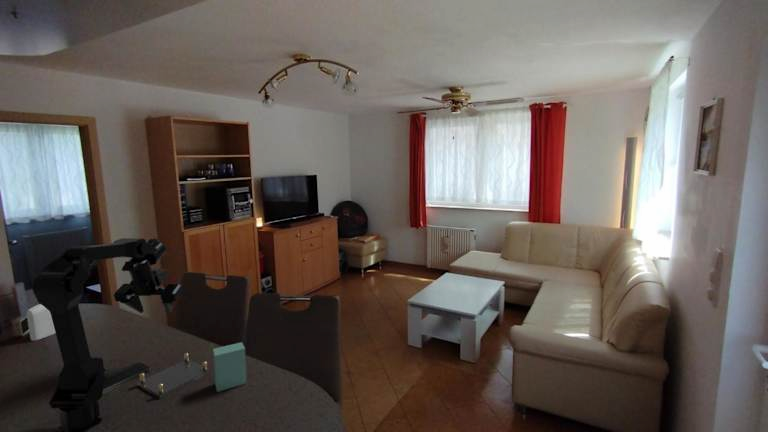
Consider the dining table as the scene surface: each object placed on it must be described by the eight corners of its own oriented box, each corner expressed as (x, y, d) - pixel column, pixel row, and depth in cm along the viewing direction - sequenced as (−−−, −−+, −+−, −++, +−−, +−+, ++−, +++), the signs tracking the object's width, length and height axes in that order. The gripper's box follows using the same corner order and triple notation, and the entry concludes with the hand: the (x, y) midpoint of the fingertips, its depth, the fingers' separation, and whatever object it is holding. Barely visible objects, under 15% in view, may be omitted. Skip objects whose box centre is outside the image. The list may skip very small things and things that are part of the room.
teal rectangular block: (217, 392, 103) (214, 355, 101) (214, 384, 106) (212, 348, 105) (246, 383, 107) (245, 348, 105) (243, 375, 110) (242, 342, 109)
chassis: (160, 398, 99) (159, 387, 99) (137, 385, 105) (136, 374, 104) (210, 372, 112) (209, 361, 112) (187, 361, 118) (187, 351, 117)
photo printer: (34, 342, 129) (30, 309, 128) (27, 339, 131) (23, 307, 129) (68, 329, 139) (64, 299, 137) (61, 328, 140) (57, 297, 139)
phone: (152, 368, 112) (95, 394, 99) (152, 372, 113) (95, 398, 100) (138, 361, 116) (81, 385, 103) (138, 364, 116) (82, 389, 103)
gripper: (185, 259, 118) (196, 296, 126) (127, 258, 118) (141, 295, 126) (167, 280, 109) (180, 319, 116) (104, 280, 108) (121, 318, 116)
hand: (156, 312), depth 119 cm, fingers open, 9 cm apart
